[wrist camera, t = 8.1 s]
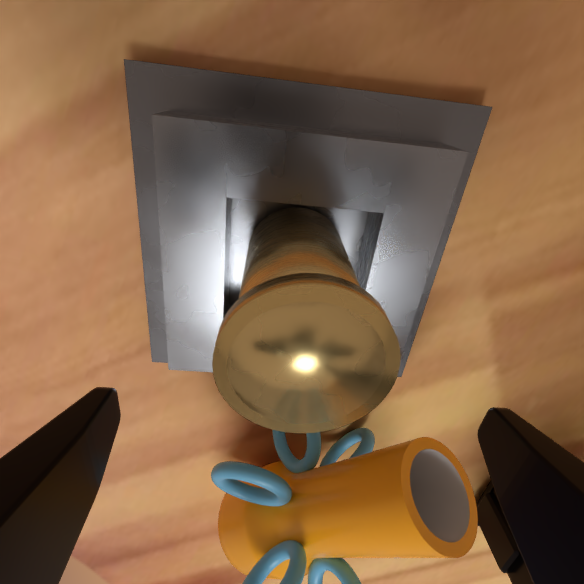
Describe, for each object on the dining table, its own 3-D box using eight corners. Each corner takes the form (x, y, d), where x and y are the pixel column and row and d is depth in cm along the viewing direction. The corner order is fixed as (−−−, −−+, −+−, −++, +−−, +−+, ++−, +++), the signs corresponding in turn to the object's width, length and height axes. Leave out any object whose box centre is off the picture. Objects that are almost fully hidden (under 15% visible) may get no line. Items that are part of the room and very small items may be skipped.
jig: (482, 105, 15) (525, 110, 13) (397, 367, 22) (413, 405, 19) (131, 60, 14) (98, 54, 11) (156, 352, 21) (138, 391, 18)
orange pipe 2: (167, 438, 24) (285, 348, 14) (297, 415, 30) (447, 339, 20) (194, 688, 19) (421, 855, 8) (345, 598, 25) (585, 629, 14)
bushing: (361, 204, 16) (423, 296, 9) (340, 305, 19) (377, 437, 12) (241, 192, 16) (212, 278, 9) (237, 297, 18) (211, 429, 11)
